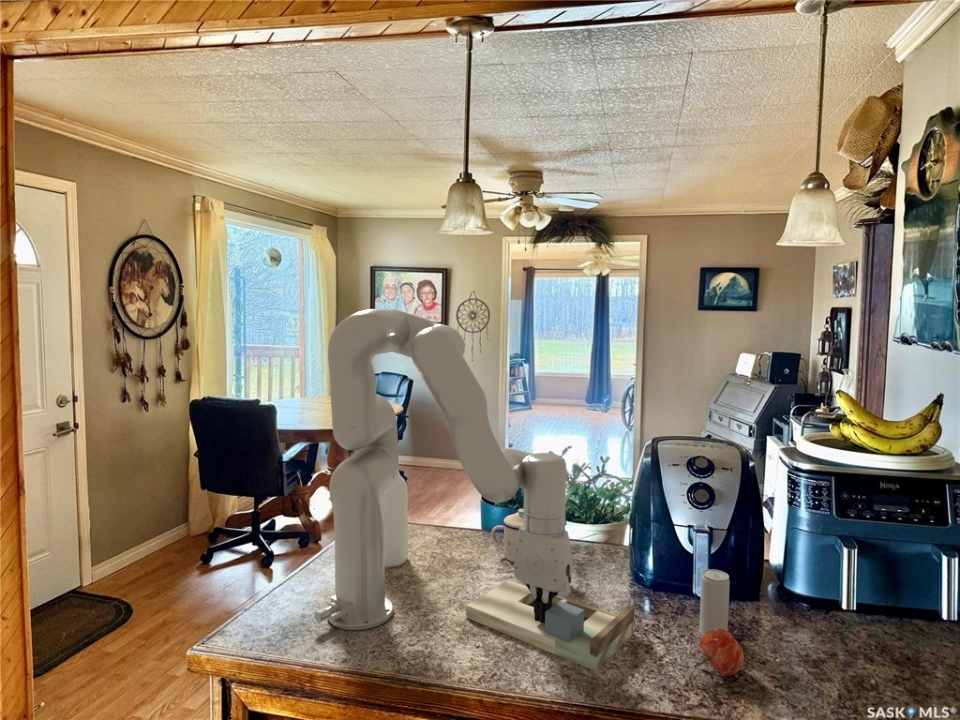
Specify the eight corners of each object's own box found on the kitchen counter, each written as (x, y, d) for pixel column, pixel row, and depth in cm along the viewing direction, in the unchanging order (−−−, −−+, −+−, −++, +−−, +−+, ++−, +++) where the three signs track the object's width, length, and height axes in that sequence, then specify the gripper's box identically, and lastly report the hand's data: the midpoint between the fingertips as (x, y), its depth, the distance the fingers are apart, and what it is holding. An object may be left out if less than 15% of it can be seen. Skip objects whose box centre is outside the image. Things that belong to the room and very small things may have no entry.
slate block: (569, 642, 105) (569, 620, 105) (545, 633, 108) (545, 611, 108) (583, 630, 109) (584, 609, 109) (559, 621, 112) (560, 601, 112)
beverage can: (726, 632, 113) (729, 571, 112) (727, 646, 109) (730, 582, 108) (698, 628, 115) (701, 567, 114) (699, 641, 110) (701, 578, 109)
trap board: (596, 671, 101) (596, 642, 101) (466, 617, 118) (466, 592, 118) (633, 633, 113) (634, 607, 113) (510, 589, 130) (510, 566, 130)
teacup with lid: (541, 550, 151) (542, 504, 150) (539, 565, 142) (539, 517, 141) (494, 546, 153) (494, 501, 152) (488, 561, 144) (488, 514, 143)
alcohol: (377, 551, 149) (375, 431, 147) (411, 554, 148) (411, 433, 145) (365, 567, 141) (364, 439, 138) (402, 569, 139) (401, 441, 137)
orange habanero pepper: (705, 696, 99) (760, 670, 95) (678, 653, 100) (731, 627, 97) (707, 675, 105) (759, 651, 102) (682, 636, 107) (732, 611, 104)
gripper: (498, 519, 112) (497, 614, 113) (570, 538, 103) (568, 641, 104) (521, 508, 118) (520, 599, 119) (591, 525, 109) (588, 623, 110)
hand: (542, 618), depth 112 cm, fingers closed
